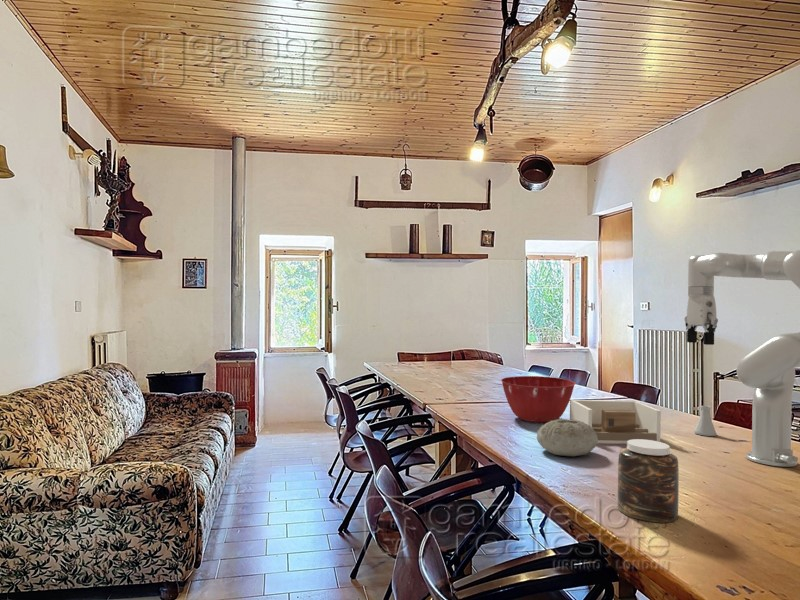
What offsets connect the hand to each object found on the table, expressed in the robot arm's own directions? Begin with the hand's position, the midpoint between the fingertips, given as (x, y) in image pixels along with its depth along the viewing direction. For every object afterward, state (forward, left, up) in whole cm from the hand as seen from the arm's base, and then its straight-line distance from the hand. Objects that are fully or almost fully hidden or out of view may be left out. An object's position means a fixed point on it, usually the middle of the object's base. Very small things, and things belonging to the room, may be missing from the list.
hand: (700, 343), depth 179 cm
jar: (-61, +47, -34) cm, 84 cm away
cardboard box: (+2, +27, -32) cm, 42 cm away
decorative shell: (-14, +49, -34) cm, 61 cm away
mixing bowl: (+34, +45, -34) cm, 66 cm away
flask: (+13, -10, -34) cm, 37 cm away
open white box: (+7, +26, -33) cm, 43 cm away
